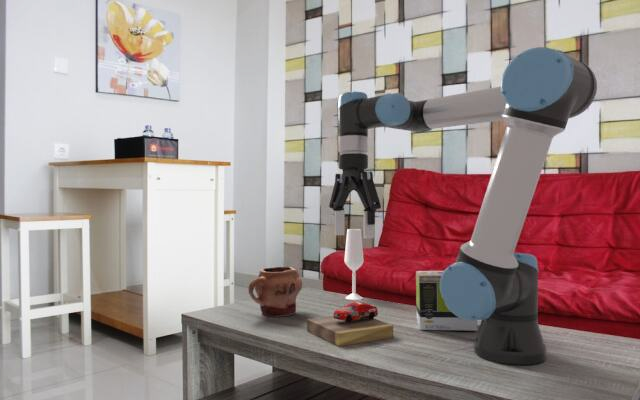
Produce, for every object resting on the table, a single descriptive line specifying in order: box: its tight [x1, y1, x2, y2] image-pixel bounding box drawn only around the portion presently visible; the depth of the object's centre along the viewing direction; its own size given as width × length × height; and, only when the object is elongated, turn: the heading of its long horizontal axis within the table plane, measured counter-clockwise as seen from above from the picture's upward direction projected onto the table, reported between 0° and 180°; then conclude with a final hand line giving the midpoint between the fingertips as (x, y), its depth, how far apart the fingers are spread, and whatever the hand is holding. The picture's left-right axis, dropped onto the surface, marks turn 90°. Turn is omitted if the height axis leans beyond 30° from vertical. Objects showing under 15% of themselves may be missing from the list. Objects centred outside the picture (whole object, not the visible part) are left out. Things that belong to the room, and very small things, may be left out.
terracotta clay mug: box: [248, 266, 303, 318], centre depth 152 cm, size 20×12×14 cm, turn 143°
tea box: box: [415, 270, 478, 332], centre depth 139 cm, size 15×10×15 cm, turn 84°
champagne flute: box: [343, 228, 365, 301], centre depth 178 cm, size 7×7×24 cm
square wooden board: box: [306, 315, 394, 347], centre depth 131 cm, size 16×16×3 cm
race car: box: [332, 301, 379, 322], centre depth 133 cm, size 13×5×4 cm, turn 126°
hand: (353, 236), depth 131 cm, fingers open, 13 cm apart
